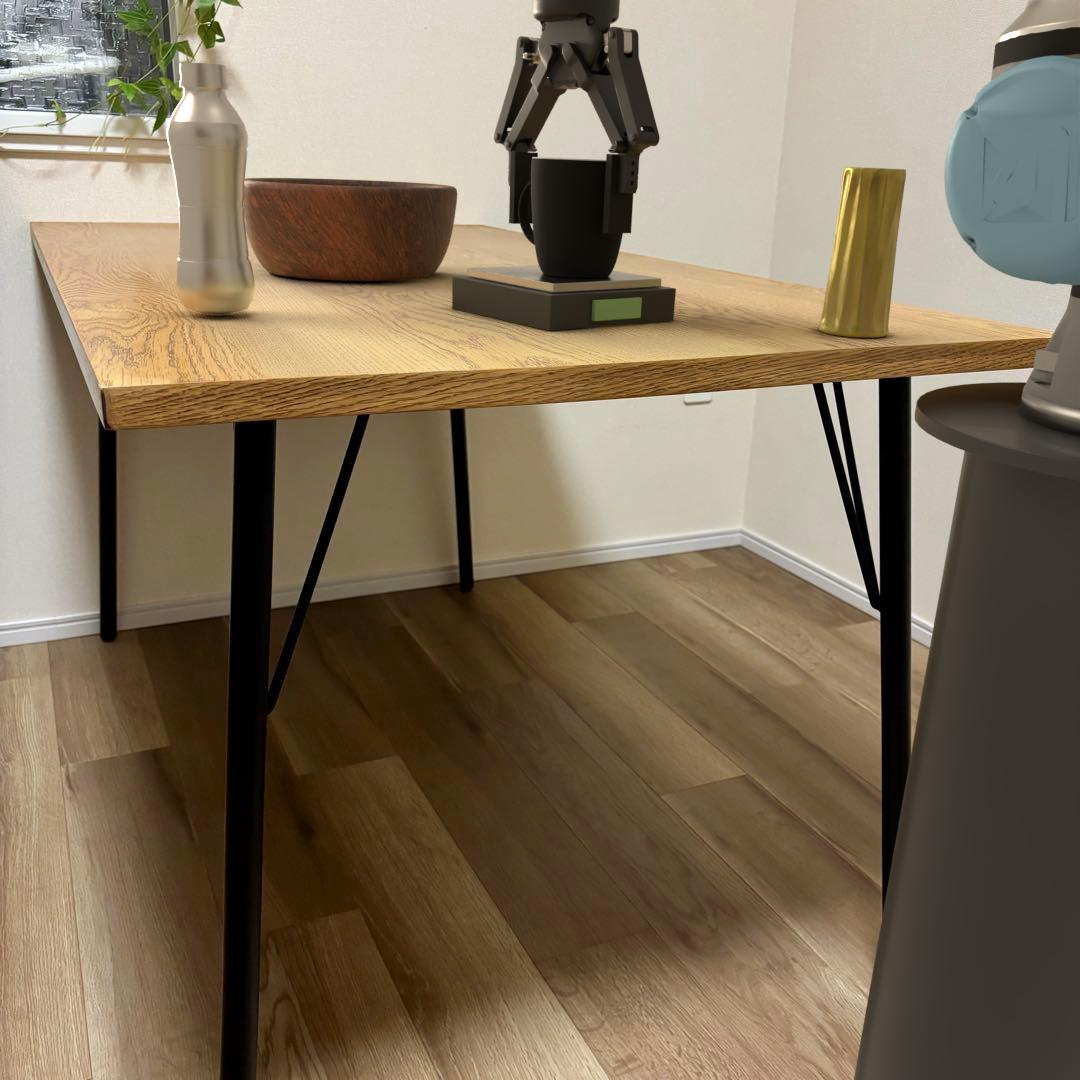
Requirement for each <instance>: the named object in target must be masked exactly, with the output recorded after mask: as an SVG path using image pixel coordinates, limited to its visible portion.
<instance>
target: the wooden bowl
mask: <svg viewBox="0 0 1080 1080" xmlns="http://www.w3.org/2000/svg"><path fill="white" fill-rule="evenodd" d="M457 203H458V190H457V188H456V187H455V186H452V185H447V184H438V183H425V182H411V181H391V180H390V181H389V180H371V179H370V180H367V179H346V178H345V179H343V178H342V179H341V178H312V177H311V178H307V177H306V178H305V177H248V178H246V177H245V182H244V201H243V207H244V221H245V229H246V237H247V241H248V242H249V244H250V248H251V250H252V251H253V254H254V255H255V257H256V259H257V260H258V262H259V264H260V265H261V267H262V268H263V269H264V270H265V271H267V272H268V273H270V274H273V275H277V276H284V277H291V278H299V279H309V280H325V281H348V282H381V281H385V282H387V281H404V280H406V281H407V280H416V279H424V278H428V277H431V276H433V275H434V274H435V273H436V272H437V271H438V269H439V268H440V266H441V264H442V263H443V261H444V258H445V257H446V254H447V252H448V249H449V247H450V243H451V239H452V235H453V231H454V230H453V229H454V224H455V217H456V211H457Z"/></svg>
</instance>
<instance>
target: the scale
mask: <svg viewBox="0 0 1080 1080" xmlns="http://www.w3.org/2000/svg"><path fill="white" fill-rule="evenodd" d="M451 281H452V282H451V284H452V285H451V286H452V287H451V288H452V289H451V290H452V291H451V308H452V309H454V310H458V311H462V312H466V313H472V314H475V315H479V316H483V317H488V318H493V319H496V320H501V321H504V322H505V321H506V322H510V323H513V324H518V325H522V326H527V327H530V328H531V327H532V328H535V329H540V330H545V331H549V332H553V331H555V332H556V331H564V330H565V331H566V330H568V331H569V330H578V329H580V330H581V329H590V328H602V327H615V326H625V325H627V326H628V325H640V324H650V323H653V324H654V323H662V322H663V323H664V322H674V320H675V307H676V296H677V295H676V294H677V288H675V287H669V286H663V285H661V287H652V288H634V289H616V290H598V291H580V292H562V293H550V292H545V291H540V290H535V289H529V288H524V287H519V286H514V285H508V284H503V283H498V282H493V281H487V280H482V279H477V278H472V277H467V275H459V276H458V275H457V276H452V279H451Z"/></svg>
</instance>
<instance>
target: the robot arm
mask: <svg viewBox="0 0 1080 1080" xmlns="http://www.w3.org/2000/svg"><path fill="white" fill-rule="evenodd" d="M620 2H621V0H532V16H533V18H534V19H535V20H536V21H538V22H539V23H540V26H541V32H540V36H539V37H532V36H523V35H520V36H519V37H518V38H517V39H516V46H515V57H514V58H515V59H514V65H513V67H512V70H511V75H510V78H509V81H508V86H507V89H506V92H505V96H504V99H503V102H502V106H501V109H500V113H499V115H498V118H497V119H498V120H497V122H496V126H495V129H494V133H493V141H494V143H495V144H499V145H502V146H503V147H504V149H505V150H506V151H507V152H508V153H507V154H508V162H507V163H508V165H507V166H508V167H507V170H508V171H507V182H508V187H509V202H508V203H509V205H508V206H509V207H508V208H509V209H508V224H513V225H514V224H516V225H517V224H518V225H520V222H519V217H518V206H519V200H520V197H521V194H522V192H523V189H524V188H525V186H526V185H527V184H528V183H529V182H530V181H531V163H532V158H533V157H539V152H537V151H538V148H537V146H536V145H535V143H536V141H537V139H538V137H539V136H540V134H541V132H542V130H543V128H544V126H545V124H546V122H547V121H548V118H549V117H550V115H551V113H552V111H553V109H554V108H555V105H556V104H557V101H558V100H559V97H561V96H562V95H564V94H566V92H567V90H577V89H581V90H582V91H584V92H586V94H587V96H588V98H589V100H590V102H591V104H592V106H593V108H594V111H595V112H596V114H597V117H598V119H599V121H600V123H601V126H602V127H603V129H604V132H605V134H606V136H607V137H608V140H609V142H610V144H611V145H610V147H609V149H608V150H607V151H608V153H606V156H605V160H606V174H605V193H604V213H603V233H608V234H609V233H623V234H632V224H633V223H632V222H633V210H634V209H633V207H634V194H637V190H638V188H639V181H638V180H639V172H640V171H639V170H640V157H641V154H642V153H643V152H644V150H646V149H649V148H650V147H656V146H658V145H659V143H660V139H661V138H660V132H659V129H658V125H657V121H656V118H655V113H654V109H653V106H652V102H651V99H650V95H649V91H648V87H647V84H646V80H645V79H646V78H645V75H644V71H643V68H642V65H641V60H640V53H639V52H640V45H639V43H640V41H639V40H640V39H639V38H640V37H639V32H638V30H637V29H633V28H626V27H619V26H611V25H612V24H614V23H616V22H617V21H618V20H619V18H620V6H621V5H620V4H621V3H620ZM993 52H994V53H993V61H992V70H991V77H990V81H989V82H988V83H986V84H985V85H984V86H983V87H982V88H981V89H980V90H979V91H978V92H977V93H976V94H975V97H974V101H973V103H971V105H970V107H969V108H967V109H966V110H964V111H962V113H961V114H960V116H959V118H958V119H957V122H956V124H955V125H954V128H953V130H952V133H951V136H950V139H949V142H948V146H947V149H946V154H945V161H944V169H943V170H944V172H943V180H944V181H943V183H944V193H945V200H946V204H947V207H948V211H949V214H950V217H951V219H952V222H953V224H954V226H955V228H956V230H957V231H958V232H957V233H958V234H959V236H960V238H961V239H962V240H963V241H964V242H965V243H966V244H967V245H968V247H970V249H971V250H972V252H973V253H974V254H975V255H976V256H977V257H978V258H979V259H980V260H981V261H982V262H984V263H985V264H987V265H988V266H990V267H991V268H993V269H994V270H996V271H998V272H1000V273H1002V274H1005V275H1007V276H1010V277H1013V278H1017V279H1020V280H1024V281H1029V282H1041V283H1044V284H1049V285H1067V286H1071V289H1070V294H1069V298H1068V303H1067V307H1066V309H1065V312H1064V313H1063V315H1062V317H1061V319H1060V321H1059V322H1058V325H1057V326H1056V328H1055V329H1054V331H1053V333H1052V335H1051V337H1050V339H1049V341H1048V342H1047V344H1046V346H1045V348H1044V349H1037V348H1036V349H1035V350H1036V351H1035V355H1034V361H1033V366H1032V371H1031V373H1030V374H1029V376H1028V378H1027V380H1026V382H1025V383H1026V385H1025V386H1024V388H1023V394H1022V399H1021V404H1020V409H1019V411H1020V413H1021V415H1022V416H1024V417H1025V418H1026V419H1028V420H1030V421H1032V422H1034V423H1036V424H1038V425H1041V426H1044V427H1047V428H1050V429H1053V430H1056V431H1059V432H1063V433H1067V434H1071V435H1075V436H1079V437H1080V0H1027V3H1026V6H1025V7H1024V11H1023V12H1022V13H1021V14H1020V15H1019V16H1017V18H1016V19H1014V21H1012V22H1011V23H1010V25H1008V27H1006V28H1005V29H1004V30H1003V32H1002V33H1000V34H999V36H998V37H997V38H996V40H995V44H994V51H993ZM509 129H510V130H509ZM528 214H529V221H530V225H533V222H532V204H531V198H530V202H529V209H528Z"/></svg>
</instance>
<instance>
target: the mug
mask: <svg viewBox="0 0 1080 1080" xmlns="http://www.w3.org/2000/svg"><path fill="white" fill-rule="evenodd" d="M605 174H606V159H592V158H591V159H590V158H569V157H568V158H565V157H543V156H541V157H540V156H538V157H533V158H532V163H531V181H530V182H529V183H528V184H527V185H526V186H525V188H524V189H523V192H522V194H521V197H520V200H519V206H518V217H519V222H520V224H519V225H520V228H521V231H522V233H523V235H524V236H525V238H526V239H527V241H529V243H531V244H532V245H533V246H534V249H535V250H534V251H535V255H536V261H537V264H538V266H539V267H540V269H541V271H542V272H543V273H544V274H546V275H550V276H556V277H567V278H604V277H608V276H609V275H610V274H611V273H612V271H614V269H615V267H616V264H617V261H618V257H619V254H620V251H621V250H620V249H621V247H622V246H621V245H622V240H623V235H624V233H609V234H608V233H603V213H604V193H605ZM530 198H531V204H532V222H533V224H530V221H529V214H528V209H529V202H530Z"/></svg>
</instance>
